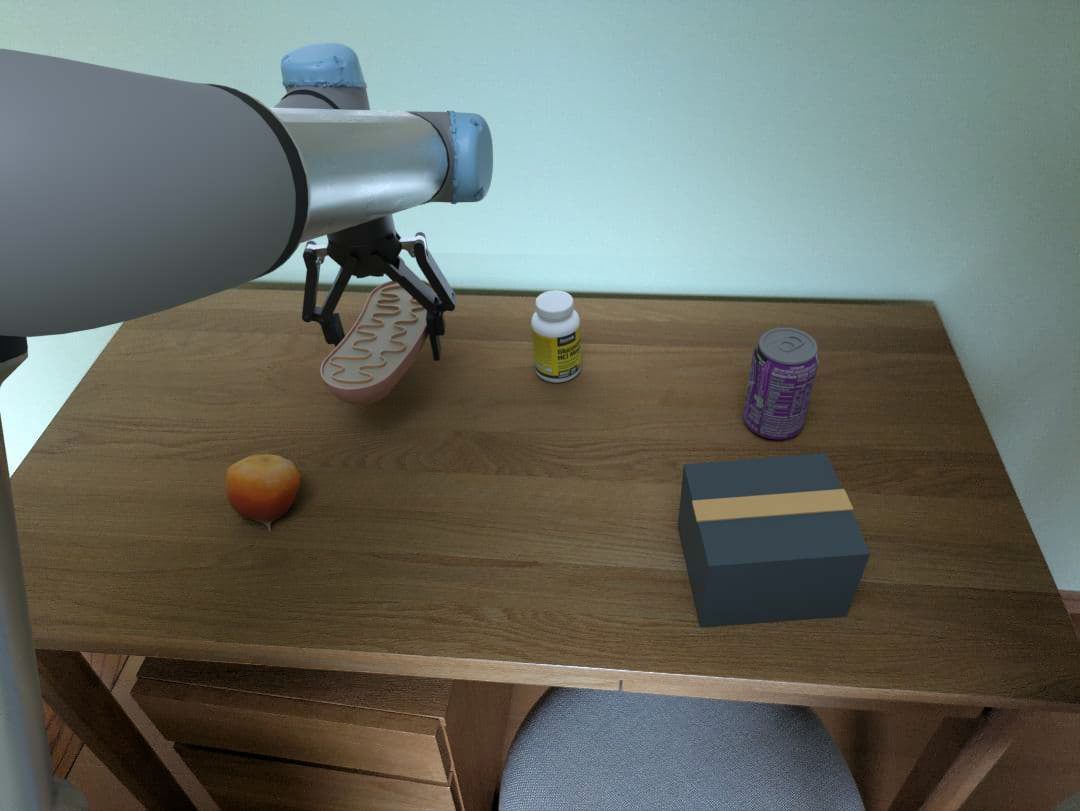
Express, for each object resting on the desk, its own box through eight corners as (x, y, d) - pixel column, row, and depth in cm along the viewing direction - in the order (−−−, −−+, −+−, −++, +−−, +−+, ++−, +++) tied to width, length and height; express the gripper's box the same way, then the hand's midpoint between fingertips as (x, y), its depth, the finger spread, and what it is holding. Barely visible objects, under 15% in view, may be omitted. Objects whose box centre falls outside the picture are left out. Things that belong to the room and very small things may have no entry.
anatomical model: (389, 305, 108) (382, 275, 104) (456, 312, 106) (451, 280, 102) (317, 416, 91) (306, 384, 88) (396, 426, 89) (387, 393, 86)
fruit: (207, 530, 85) (207, 460, 83) (253, 507, 92) (254, 442, 90) (271, 545, 82) (273, 474, 81) (313, 520, 90) (315, 454, 88)
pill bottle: (563, 390, 100) (559, 321, 92) (525, 373, 103) (518, 305, 95) (590, 364, 103) (589, 296, 96) (553, 348, 106) (549, 281, 99)
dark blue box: (698, 627, 74) (707, 564, 67) (676, 527, 83) (682, 462, 76) (848, 616, 74) (872, 552, 67) (809, 517, 83) (828, 451, 76)
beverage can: (768, 394, 97) (782, 316, 89) (815, 424, 93) (835, 345, 84) (729, 421, 94) (741, 343, 86) (777, 453, 90) (794, 374, 81)
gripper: (462, 175, 87) (483, 332, 101) (253, 191, 87) (305, 346, 101) (460, 207, 81) (483, 369, 96) (237, 225, 81) (294, 383, 96)
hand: (391, 357), depth 99 cm, fingers closed on anatomical model, 11 cm apart
